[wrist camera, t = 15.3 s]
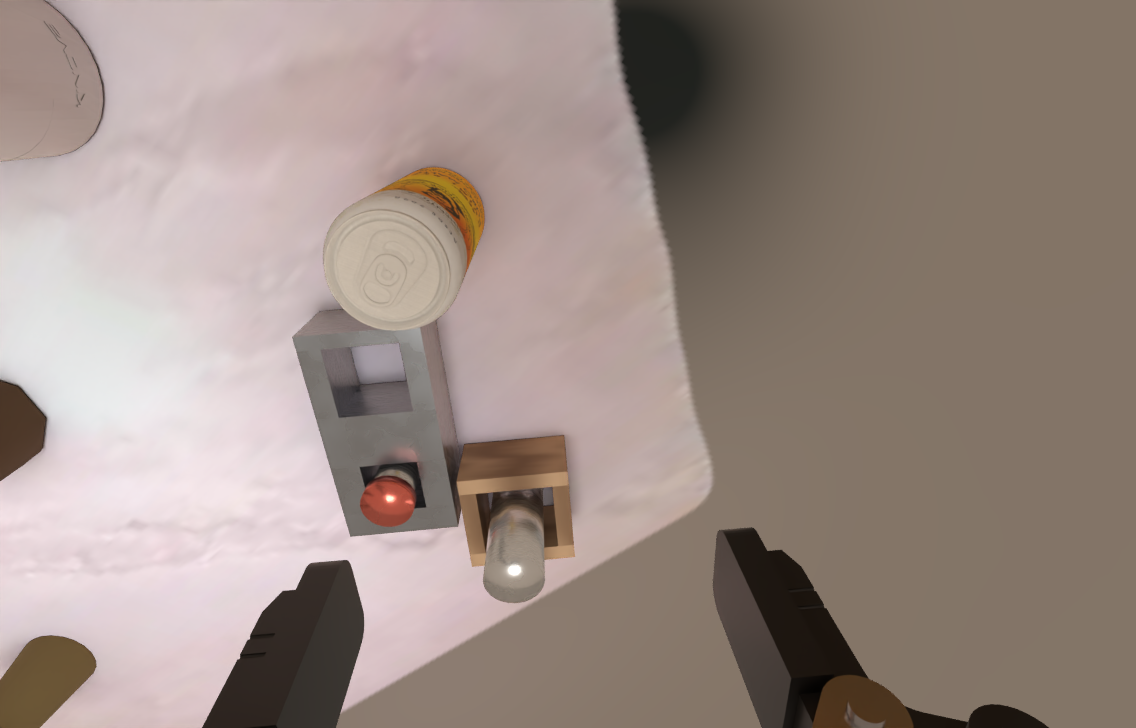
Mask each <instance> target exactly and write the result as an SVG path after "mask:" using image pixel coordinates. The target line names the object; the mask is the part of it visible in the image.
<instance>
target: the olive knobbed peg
mask: <svg viewBox="0 0 1136 728" xmlns="http://www.w3.org/2000/svg"><path fill="white" fill-rule="evenodd" d="M95 668H96V660H95V658H94V656H93V655H92V653H91V652H90V651H89V650H88V649H87V648H86V647H85V646H83V645H81V644H80V643H78V642H76V641H74V640H71V639H68V638H65V637H59V636H42V637H38V638H36V639H33V640H31V641H30V642H29V643H28V644H27V645H26V646H25V647H24V649H23V650H22V651H21V653H20V654H19V655H18V657H17V658H16V659H15V661H14V662H13V664H12V665H11V666H10V668H9V669H8V670H7V672H6V673H5V674H4V676H3V677H2V678H1V680H0V728H40V727H41V726H42V725H43V724H44V723H45V722H46V721H47V720H48V719H49V718H50V717H51V716H52V715H53V714H54V713H55V712H56V711H57V710H58V709H59V708H60V706H61V705H62V704H63V703H64V702H65V701H66V700H67V699H68V698H69V697H70V696H71V695H72V694H73V693H74V692H75V691H76V690H77V689H78V688H79V687H80V686H81V685H82V684H83V683H84V682H85V681H86V680H87V679H88V678H89V677H90V676H91V675H92V674H93V673H94V671H95Z"/></svg>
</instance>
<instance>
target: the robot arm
mask: <svg viewBox="0 0 1136 728" xmlns="http://www.w3.org/2000/svg"><path fill="white" fill-rule="evenodd" d="M102 107H103V94H102V84H101V80H100V76H99V73H98V69H97V66H96V64H95V62H94V60H93V57H92V55H91V53H90V51H89V49H88V47H87V46H86V44H85V43H84V41H83V40H82V38H81V37H80V35H79V34H78V33H77V31H76V30H75V29H74V28H73V27H72V26H71V24H70V23H69V22H68V21H67V20H66V19H65V18H64V17H63V16H62V15H61V14H60V13H59V12H58V11H56V10H55V9H54V8H53V7H51V6H50V5H49V4H48V3H46V2H45V1H44V0H0V162H2V161H11V160H21V159H31V158H40V157H50V156H60V155H63V154H66V153H69V152H72V151H74V150H76V149H77V148H79V147H80V146H82V145H83V144H85V143H86V142H87V141H88V140H89V138H90V137H91V136H92V135H93V134H94V132H95V130H96V128H97V126H98V124H99V121H100V119H101V113H102ZM713 591H714V598H715V603H716V607H717V611H718V614H719V616H720V619H721V621H722V624H723V627H724V629H725V632H726V635H727V637H728V640H729V642H730V645H731V648H732V650H733V653H734V656H735V658H736V661H737V664H738V666H739V669H740V672H741V674H742V677H743V680H744V682H745V685H746V687H747V690H748V693H749V695H750V698H751V701H752V703H753V706H754V708H755V711H756V714H757V716H758V719H759V722H760V724H761V727H762V728H1049V727H1047V726H1046V725H1045V724H1043V723H1042V722H1040V721H1039V720H1037V719H1036V718H1034V717H1032V716H1030V715H1028V714H1027V713H1024V712H1022V711H1020V710H1018V709H1015V708H1012V707H1008V706H1003V705H994V704H990V705H984V706H981V707H979V708H977V709H976V710H974V711H973V713H972V714H971V716H970V718H969V721H968V722H965V721H960V720H956V719H951V718H946V717H942V716H937V715H932V714H928V713H923V712H919V711H916V710H913V709H911V708H908V707H906V706H904V705H903V704H902V702H901V701H900V700H899V699H898V698H897V697H896V696H895V695H894V694H893V693H892V692H891V691H889V690H888V689H887V688H885V687H884V686H882V685H880V684H879V683H877V682H875V681H873V680H870V679H869V678H868V677H867V675H866V674H865V672H864V671H863V669H862V667H861V666H860V664H859V662H858V661H857V659H856V658H855V656H854V654H853V652H852V651H851V649H850V647H849V646H848V644H847V642H846V641H845V639H844V637H843V636H842V634H841V633H840V631H839V629H838V628H837V625H836V624H835V622H834V620H833V619H832V617H831V615H830V614H829V612H828V610H827V609H826V608H824V604H823V602H822V600H821V599H820V597H819V595H818V594H817V592H816V591H814V587H813V585H812V584H811V582H810V580H809V579H808V577H807V575H806V574H805V572H804V570H803V569H802V567H801V566H800V565H799V564H797V563H796V562H795V561H794V560H792V558H790V557H789V556H788V555H787V554H786V553H785V552H783V551H782V550H775V551H767V550H766V548H765V546H764V544H763V542H762V540H761V538H760V537H759V535H758V533H757V531H756V530H755V529H754V528H752V527H751V528H740V529H728V530H719V531H718V533H717V538H716V551H715V564H714V577H713ZM363 633H364V613H363V608H362V605H361V601H360V597H359V594H358V590H357V586H356V582H355V579H354V575H353V571H352V568H351V565H350V563H349V561H347V560H341V561H329V562H317V563H310V564H309V565H308V566H307V568H306V570H305V572H304V574H303V576H302V578H301V580H300V582H299V584H298V586H297V588H296V590H289V591H282V592H281V593H280V594H279V596H278V597H277V598H276V599H275V600H274V601H273V602H272V603H271V604H270V605H269V606H268V607H267V608H266V609H265V610H264V611H263V612H262V614H261V615H260V617H259V619H258V621H257V623H256V625H255V627H254V629H253V631H252V633H251V635H250V640H247V642H246V644H245V646H244V648H243V650H242V652H241V654H240V659H239V660H237V662H236V664H235V666H234V667H233V669H232V671H231V673H230V675H229V677H228V679H227V681H226V683H225V685H224V687H223V689H222V691H221V692H220V694H219V696H218V698H217V700H216V702H215V704H214V706H213V708H212V710H211V712H210V714H209V716H208V717H207V719H206V721H205V723H204V725H203V727H202V728H336V725H337V722H338V719H339V715H340V712H341V709H342V706H343V702H344V699H345V696H346V693H347V689H348V686H349V683H350V679H351V676H352V673H353V670H354V666H355V663H356V660H357V657H358V653H359V650H360V647H361V643H362V639H363Z"/></svg>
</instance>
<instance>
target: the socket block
mask: <svg viewBox="0 0 1136 728" xmlns="http://www.w3.org/2000/svg"><path fill="white" fill-rule="evenodd" d="M292 338H293V342H294V345H295V348H296V352H297V355H298V359H299V362H300V366H301V369H302V372H303V376H304V379H305V383H306V386H307V389H308V393H309V396H310V400H311V403H312V407H313V410H314V413H315V417H316V420H317V424H318V427H319V431H320V434H321V437H322V441H323V444H324V448H325V451H326V454H327V458H328V461H329V465H330V468H331V472H332V475H333V478H334V482H335V485H336V489H337V492H338V496H339V499H340V502H341V506H342V509H343V513H344V516H345V520H346V523H347V526H348V530H349V533H350V537H352V536H362V535H373V534H384V533H394V532H405V531H416V530H426V529H437V528H447V527H458V524H459V518H460V513H461V503H460V498H459V492H458V487H457V477H458V472H459V467H460V463H461V459H460V454H459V448H458V442H457V437H456V431H455V425H454V420H453V414H452V409H451V403H450V397H449V392H448V386H447V381H446V375H445V369H444V364H443V358H442V352H441V347H440V341H439V336H438V330H437V324H436V320H435V321H433V322H431V323H429V324H427V325H425V326H422V327H419V328H415V329H409V330H396V331H394V330H383V329H378V328H374V327H371V326H368V325H366V324H364V323H362V322H360V321H358V320H357V319H355V318H354V317H352V316H351V315H350V314H348V313H347V312H346V311H345V310H344V309H340V310H329V311H319V312H318V313H317V314H316V315H315V316H314V317H313V318H312V319H311V320H310V321H309V322H308V323H307V324H306V325H304V326H303V327H302V328H301V329H300V330H299V331H298V332H297V333H296V334H295V335H294V336H293V337H292ZM391 343H399V345H400V350H401V355H402V360H403V364H404V369H405V374H406V379H407V381H400V382H389V383H377V384H366V385H359V381H358V377H357V373H356V369H355V365H354V361H353V357H352V353H351V349H350V347H356V346H368V345H379V344H391ZM408 462H417V466H418V470H419V475H420V476H419V480H418V483H417V486H416V489H415V492H416V497H417V498H416V504H415V507H414V511H413V514H412V516H411V517H410V519H409V520H408V521H406V522H405V523H403V524H401V525H398V526H394V527H384V526H380V525H377V524H374V523H372V522H371V521H369V520H368V519H367V518H366V517H365V516H364V514H363V513H362V511H361V508H360V500H361V497H362V494H363V492H364V490H365V488H366V486H367V484H368V483H369V482H370V481H372V480H373V479H374V478H375V476H376V473H377V471H378V469H379V466H380V465H386V464H397V463H408Z"/></svg>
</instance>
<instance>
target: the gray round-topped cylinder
mask: <svg viewBox="0 0 1136 728" xmlns="http://www.w3.org/2000/svg"><path fill="white" fill-rule="evenodd" d="M544 582H545V569H544V513H543V488H533V489H522V490H512V491H501V492H493V497H492V506H491V515H490V524H489V532H488V541H487V550H486V558H485V567H484V576H483V583H484V587H485V589H486V590H487V592H488V593H489V594H490V595H491V596H492V597H494V598H495V599H497V600H500V601H503V602H507V603H520V602H525V601H527V600H530V599H532V598H533V597H535V596H536V595H537V594H538V593H539V592H540V591H541V590H542V588H543V586H544Z"/></svg>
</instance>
